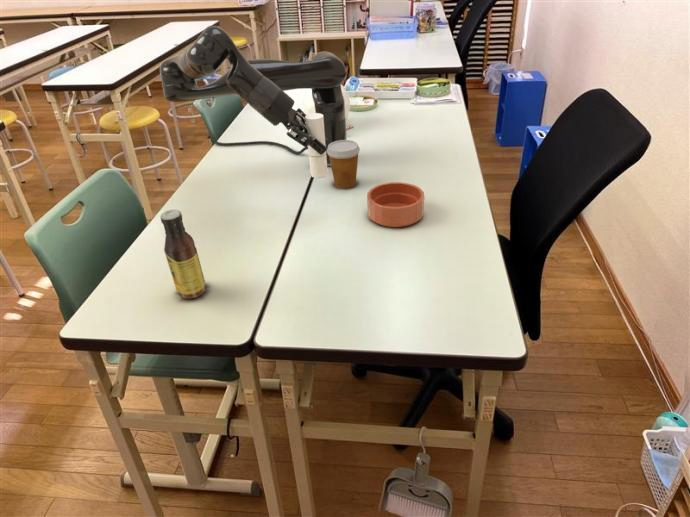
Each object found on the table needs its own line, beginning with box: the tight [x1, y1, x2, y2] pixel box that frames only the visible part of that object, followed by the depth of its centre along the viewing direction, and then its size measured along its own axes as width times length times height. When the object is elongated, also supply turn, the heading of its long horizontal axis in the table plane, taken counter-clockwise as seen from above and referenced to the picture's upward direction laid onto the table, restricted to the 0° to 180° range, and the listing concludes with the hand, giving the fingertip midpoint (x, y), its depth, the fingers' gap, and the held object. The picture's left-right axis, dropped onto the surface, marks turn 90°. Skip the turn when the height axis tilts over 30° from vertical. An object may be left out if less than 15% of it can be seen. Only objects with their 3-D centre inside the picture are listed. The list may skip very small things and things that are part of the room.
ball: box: [303, 83, 354, 131], centre depth 186 cm, size 17×25×24 cm
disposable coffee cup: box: [327, 139, 361, 189], centre depth 151 cm, size 10×10×12 cm
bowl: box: [366, 181, 425, 228], centre depth 135 cm, size 15×15×6 cm
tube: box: [305, 113, 329, 179], centre depth 127 cm, size 4×4×15 cm
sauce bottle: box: [159, 208, 206, 300], centre depth 108 cm, size 6×6×20 cm
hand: (324, 147), depth 127 cm, fingers closed on tube, 4 cm apart
